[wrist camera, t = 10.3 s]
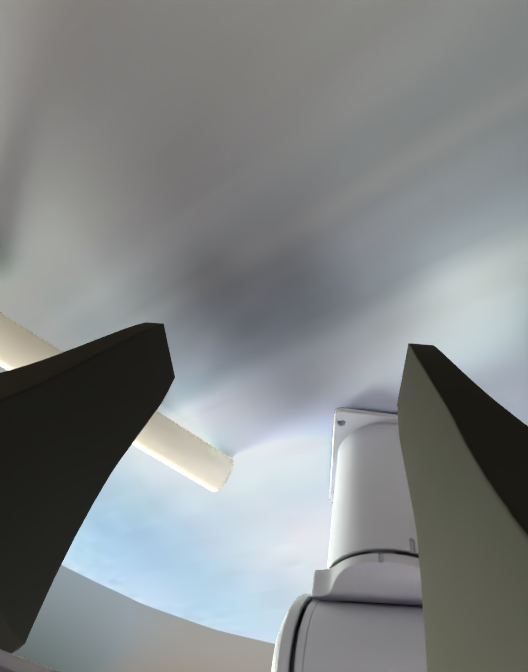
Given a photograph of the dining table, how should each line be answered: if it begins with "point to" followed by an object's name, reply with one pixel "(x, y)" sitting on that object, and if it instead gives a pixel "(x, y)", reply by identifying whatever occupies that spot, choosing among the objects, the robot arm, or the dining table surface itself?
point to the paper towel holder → (158, 434)
